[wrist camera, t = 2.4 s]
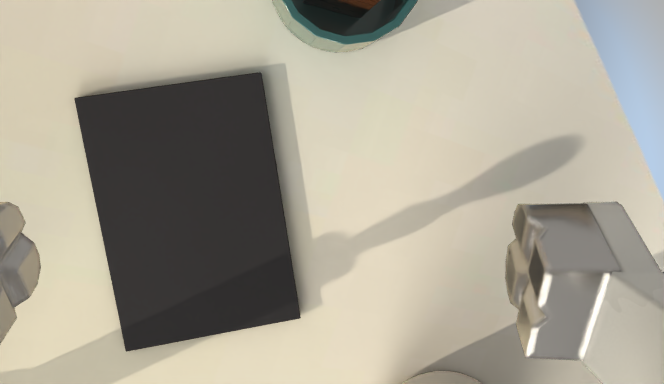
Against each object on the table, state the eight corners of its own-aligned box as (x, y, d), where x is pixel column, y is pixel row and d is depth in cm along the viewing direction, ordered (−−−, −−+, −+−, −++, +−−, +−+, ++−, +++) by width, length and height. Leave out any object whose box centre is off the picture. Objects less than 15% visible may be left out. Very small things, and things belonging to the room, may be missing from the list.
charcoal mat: (76, 98, 45) (74, 98, 44) (261, 72, 47) (261, 72, 46) (127, 348, 48) (125, 351, 47) (299, 316, 49) (300, 318, 49)
